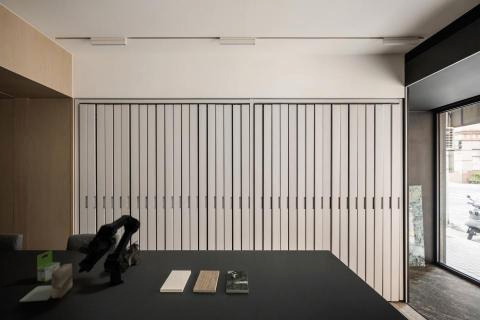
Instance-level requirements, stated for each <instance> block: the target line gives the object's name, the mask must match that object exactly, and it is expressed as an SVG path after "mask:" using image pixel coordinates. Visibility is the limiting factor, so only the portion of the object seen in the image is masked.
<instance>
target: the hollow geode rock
mask: <svg viewBox="0 0 480 320" xmlns="http://www.w3.org/2000/svg"><path fill="white" fill-rule="evenodd" d="M138 242H139V240H136V241H135V242H133V243H132V244H131V245H129V246H127V247H126V249H125V252H124V254H123V256H122V259H123V264H124V265H125V270H124V272H125V271H126V270H128V269H129V268H130V266H131V265H134V264H139V262H140V259H141V257H142V255H143V253H142V251H141V250H140V249H139V247H140V244H139V243H138Z"/></svg>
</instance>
